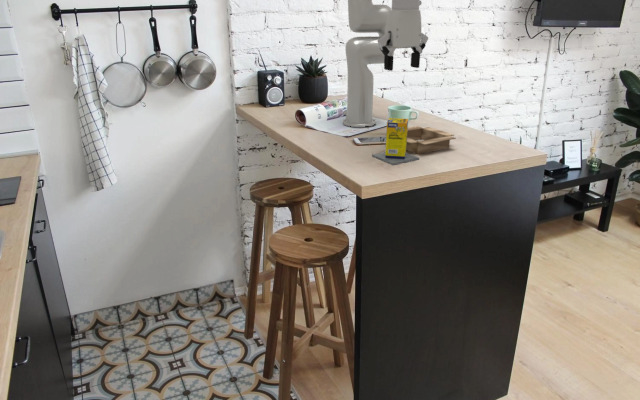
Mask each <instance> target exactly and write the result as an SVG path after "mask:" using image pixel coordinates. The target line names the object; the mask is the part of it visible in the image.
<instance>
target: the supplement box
mask: <svg viewBox="0 0 640 400" xmlns="http://www.w3.org/2000/svg"><path fill="white" fill-rule="evenodd" d="M408 128H409V119H408V118H401V117H400V118H398V117H397V118H396V117H389V118H388V120H387V122H386V134H385V135H386V136H385V152H386V153H385V158H397V159H405V154H406V153H407V150H406V144H407V130H408Z"/></svg>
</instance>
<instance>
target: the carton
mask: <svg viewBox="0 0 640 400" xmlns="http://www.w3.org/2000/svg"><path fill="white" fill-rule="evenodd" d="M456 139H457V138H456V137H455V134H453V133H450V132H447V131H443V130H440V129H436V128H433V127H430V126H426V127H421V126H418V125H415V126H408V130H407V144H406V151H408V152H411V153H414V154H417V155H420V154H425V153H426V154H427V153H430V152H435V151H439V150H445V149H449V148H450V142H451V140H456ZM419 140H420V141H419Z"/></svg>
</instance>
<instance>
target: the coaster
mask: <svg viewBox="0 0 640 400" xmlns="http://www.w3.org/2000/svg"><path fill="white" fill-rule="evenodd" d="M385 153H386V151H385V152H384V151H383V152H379V153H373V154H371V157H373V158H374V159H378V160H380V161H382V162H384V163H387V164H390V165H392V166H395V165H400V164H405V163H409V162H413V161H419V160H420V156H419V157H418V156H415V155H413V154H411V153H408V152H406V154H405V159H397V158H385Z"/></svg>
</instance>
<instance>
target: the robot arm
mask: <svg viewBox="0 0 640 400" xmlns="http://www.w3.org/2000/svg"><path fill="white" fill-rule="evenodd" d="M422 4H423V3H422V0H391V7H390V6H389V5H387V4H374V3H373V0H347V12H348V13H347V14H348V15H347V16H348V17H347V18H348V26H349V29H350V31H351V32H353V33H356V34H357V33H358V34H362V33H363V34H370V33H372V34H373V33H374V34H375V33H377V34H378V36H354V37H351V38H350V39H348V40H347V41H346V43H345V57H346V65H347V66H346V67H347V90H346V91H347V97H346V98H347V99H346V100H347V101H346V103H347V104H346V110H345V111H343V115H345V116H346V117H345V118H344V119H343V120H342V124H343V125H344V126H346V127H350V126H351V127H350V128H366V127H365V126H371V127H373V126H372V125H374V124H376V125H377V120H376V119H374V118H373V104H374V75H373V72H372V71H371V69H370V68H369V66H368V65H376V64H377V65H378V64H379V65H381V64H383V69H384V70H386V71H393V69H394V55H395V51H396V49H409V48H410V49H411V50H412V52H411V55H410V68H416V69H419V68H420V62H421V61H420V60H421V54H422V53H423V50H424V49H425V47H426V44H427V43H428V40H429V37H428V36H427V35H426V34H424V33H423V32H422V14H421V10H420V6H421V5H422ZM374 126H375V125H374Z"/></svg>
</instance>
